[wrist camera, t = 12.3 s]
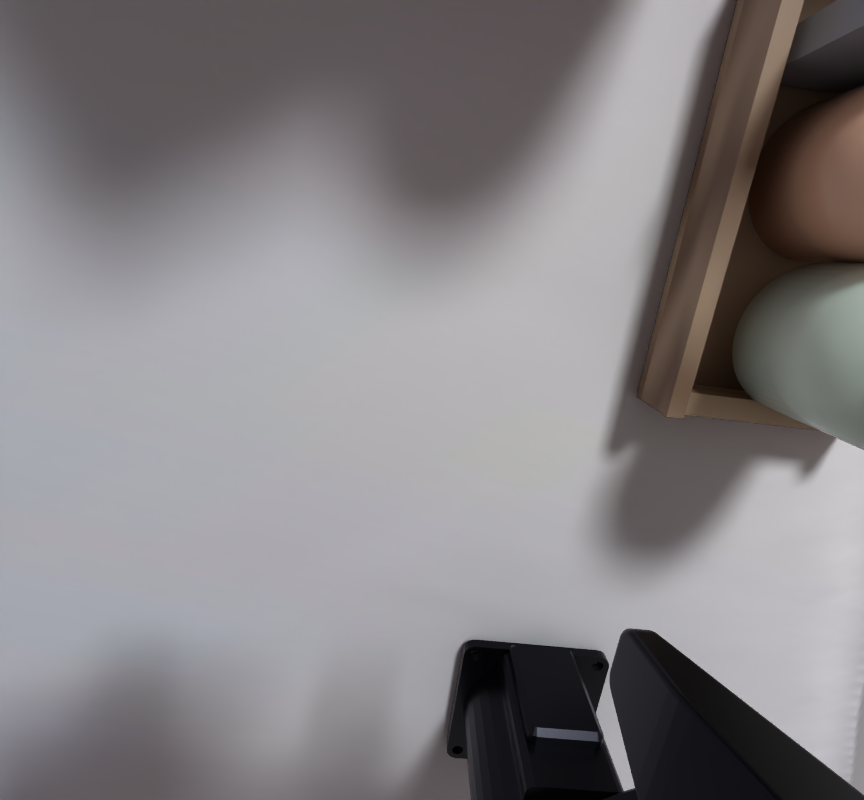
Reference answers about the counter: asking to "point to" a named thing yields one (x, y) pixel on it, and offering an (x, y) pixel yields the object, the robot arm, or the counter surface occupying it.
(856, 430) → the sage jar
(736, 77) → the wooden tray
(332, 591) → the counter surface
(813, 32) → the bar
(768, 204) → the terracotta jar
